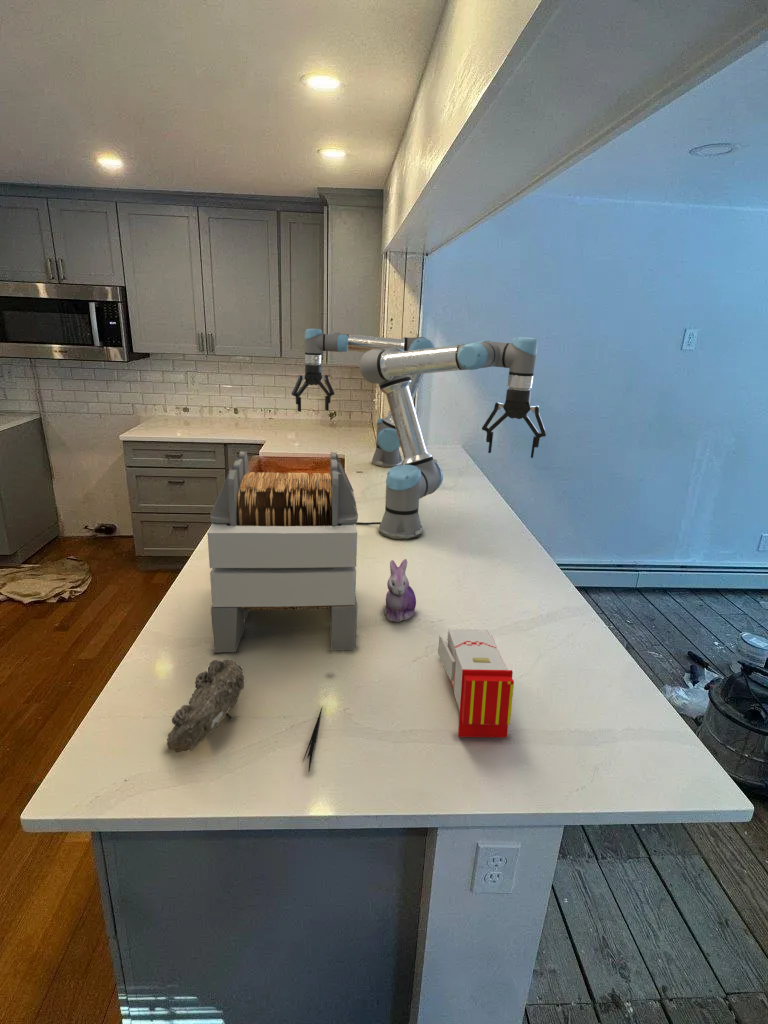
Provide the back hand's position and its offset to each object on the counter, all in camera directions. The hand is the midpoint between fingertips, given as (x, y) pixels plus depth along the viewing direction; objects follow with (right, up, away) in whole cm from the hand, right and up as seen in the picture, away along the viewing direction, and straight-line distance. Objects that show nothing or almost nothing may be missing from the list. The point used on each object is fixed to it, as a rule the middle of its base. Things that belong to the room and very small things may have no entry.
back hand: (313, 410), depth 266 cm
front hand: (+75, -29, -81) cm, 113 cm away
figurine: (+37, -74, -118) cm, 145 cm away
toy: (+51, -85, -147) cm, 178 cm away
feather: (+21, -87, -157) cm, 181 cm away
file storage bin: (+9, -74, -122) cm, 142 cm away
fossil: (0, -87, -158) cm, 180 cm away
